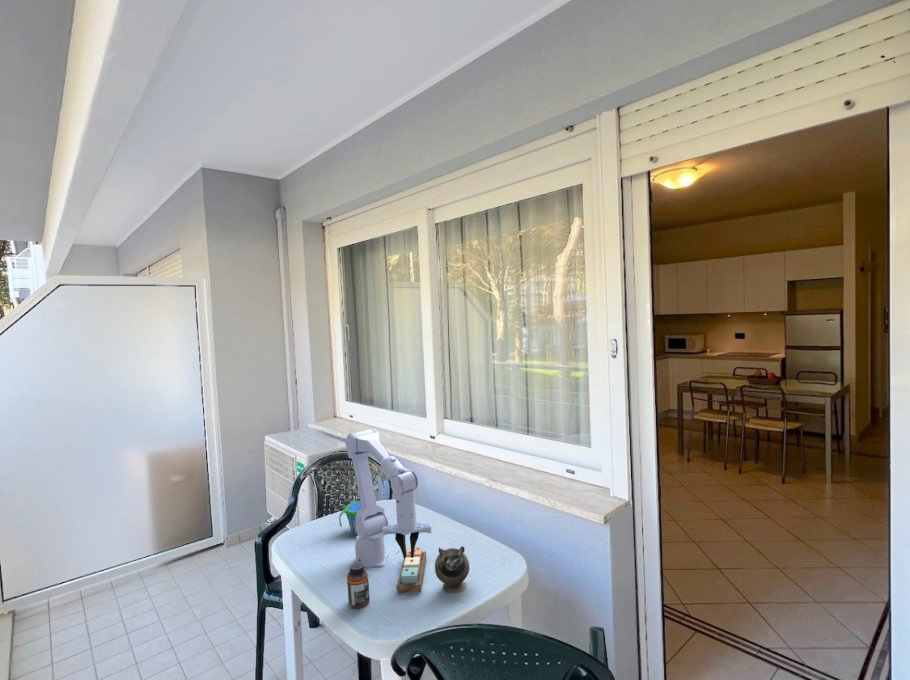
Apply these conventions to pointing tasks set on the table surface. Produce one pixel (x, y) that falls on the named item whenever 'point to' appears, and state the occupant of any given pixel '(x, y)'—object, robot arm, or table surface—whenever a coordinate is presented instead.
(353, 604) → the supplement bottle
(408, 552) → the tile three
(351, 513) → the snack cup
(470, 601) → the table surface
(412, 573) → the tile two
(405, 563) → the tile one
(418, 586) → the tile tray
